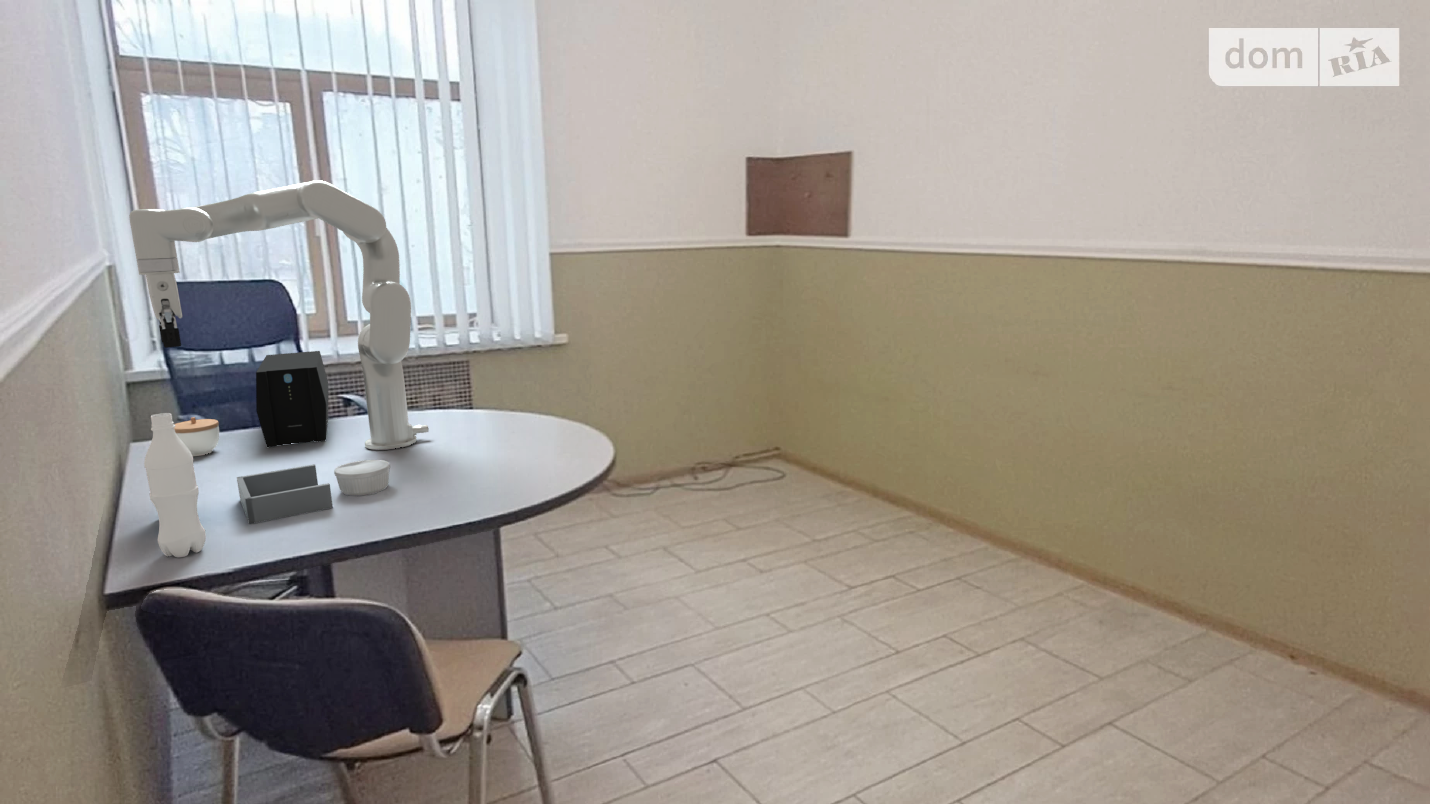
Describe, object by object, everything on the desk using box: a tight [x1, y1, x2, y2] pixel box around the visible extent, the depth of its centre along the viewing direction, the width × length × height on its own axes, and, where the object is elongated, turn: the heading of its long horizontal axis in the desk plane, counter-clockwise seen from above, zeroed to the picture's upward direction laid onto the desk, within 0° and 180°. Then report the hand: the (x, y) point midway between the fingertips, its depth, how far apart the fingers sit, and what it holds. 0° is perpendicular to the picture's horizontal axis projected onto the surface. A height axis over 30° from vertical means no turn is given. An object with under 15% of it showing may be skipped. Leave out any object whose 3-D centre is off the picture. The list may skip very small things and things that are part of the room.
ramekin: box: [333, 459, 391, 497], centre depth 182 cm, size 11×11×5 cm
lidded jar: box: [173, 416, 220, 457], centre depth 214 cm, size 11×11×9 cm
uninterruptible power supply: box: [255, 350, 329, 448], centre depth 235 cm, size 16×34×20 cm, turn 23°
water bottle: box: [143, 412, 207, 558], centre depth 146 cm, size 7×7×25 cm
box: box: [236, 464, 334, 525], centre depth 173 cm, size 15×18×5 cm
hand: (171, 344), depth 188 cm, fingers open, 9 cm apart
